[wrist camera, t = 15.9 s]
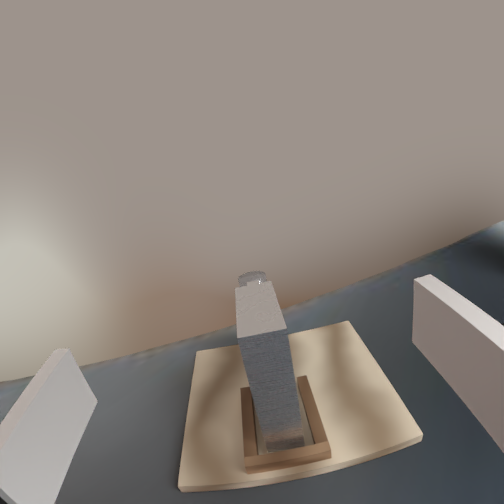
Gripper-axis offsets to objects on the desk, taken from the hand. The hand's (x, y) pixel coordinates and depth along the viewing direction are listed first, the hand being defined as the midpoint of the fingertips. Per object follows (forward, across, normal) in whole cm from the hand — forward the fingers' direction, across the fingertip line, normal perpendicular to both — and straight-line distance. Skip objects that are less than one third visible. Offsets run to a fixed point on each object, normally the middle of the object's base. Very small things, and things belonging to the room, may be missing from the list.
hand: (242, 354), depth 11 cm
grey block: (+13, 0, -16) cm, 20 cm away
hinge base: (+15, +1, -17) cm, 23 cm away
